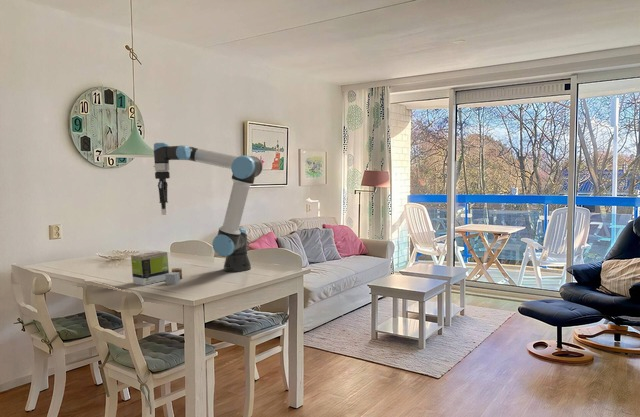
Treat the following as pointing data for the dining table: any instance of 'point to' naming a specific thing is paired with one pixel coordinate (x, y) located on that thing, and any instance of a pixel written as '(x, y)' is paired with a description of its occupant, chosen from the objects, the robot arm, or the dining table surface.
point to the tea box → (149, 267)
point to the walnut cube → (178, 271)
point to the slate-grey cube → (172, 278)
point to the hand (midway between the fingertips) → (164, 214)
